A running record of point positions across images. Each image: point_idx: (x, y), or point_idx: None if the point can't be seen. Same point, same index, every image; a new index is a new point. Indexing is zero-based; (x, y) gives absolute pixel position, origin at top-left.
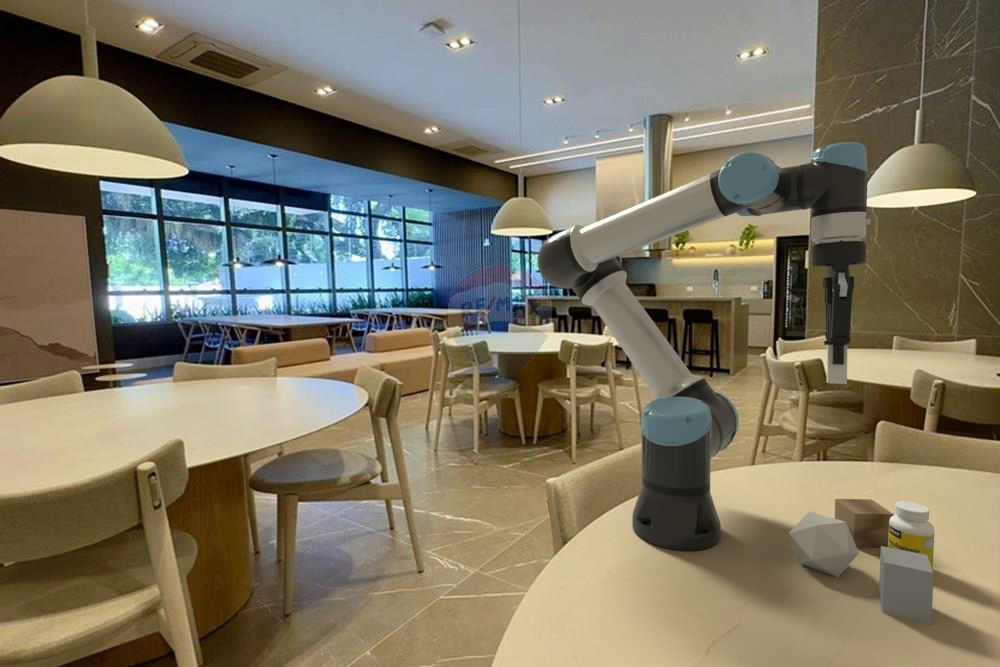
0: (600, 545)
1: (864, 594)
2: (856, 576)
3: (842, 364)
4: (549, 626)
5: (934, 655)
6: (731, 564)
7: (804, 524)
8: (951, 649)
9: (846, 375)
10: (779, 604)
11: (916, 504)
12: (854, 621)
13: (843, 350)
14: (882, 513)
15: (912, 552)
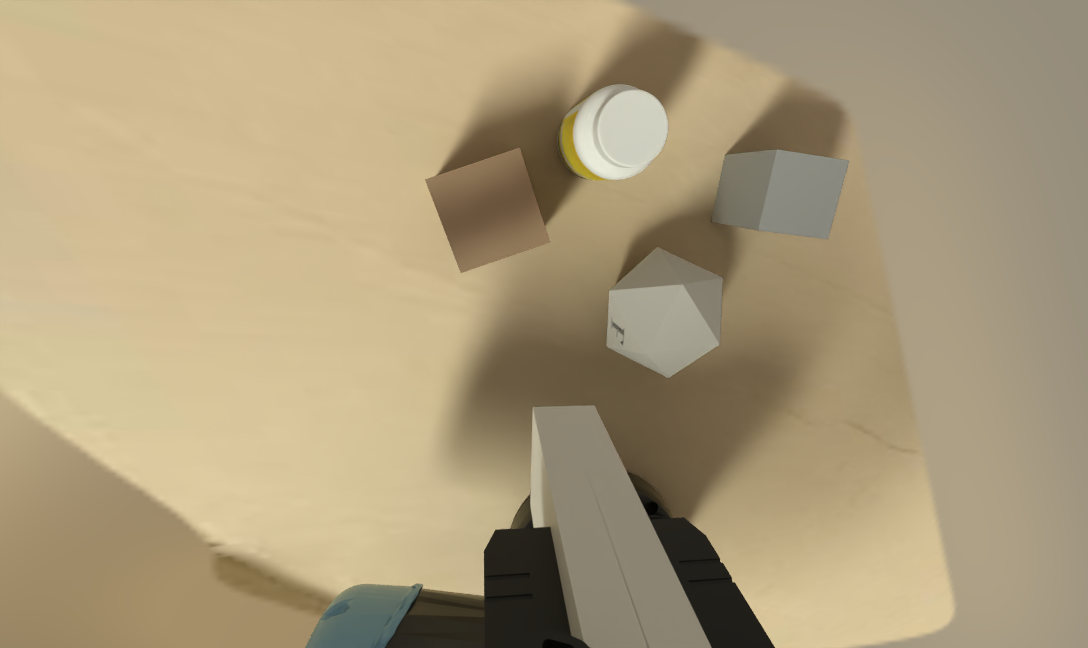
0: None
1: (722, 246)
2: (663, 248)
3: (681, 524)
4: (900, 610)
5: (861, 184)
6: (687, 441)
7: (682, 359)
8: (842, 155)
9: (605, 437)
10: (788, 372)
11: (614, 112)
12: (805, 275)
13: (760, 631)
14: (523, 174)
15: (773, 175)
